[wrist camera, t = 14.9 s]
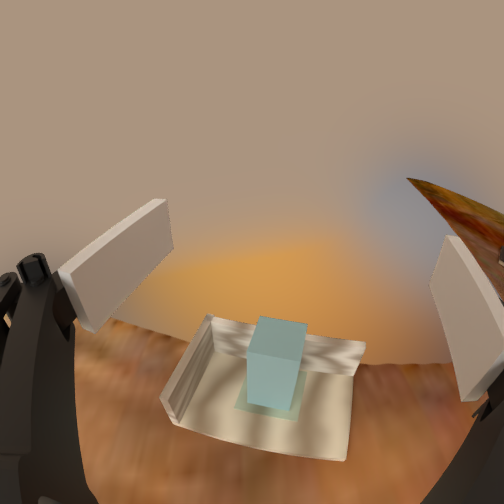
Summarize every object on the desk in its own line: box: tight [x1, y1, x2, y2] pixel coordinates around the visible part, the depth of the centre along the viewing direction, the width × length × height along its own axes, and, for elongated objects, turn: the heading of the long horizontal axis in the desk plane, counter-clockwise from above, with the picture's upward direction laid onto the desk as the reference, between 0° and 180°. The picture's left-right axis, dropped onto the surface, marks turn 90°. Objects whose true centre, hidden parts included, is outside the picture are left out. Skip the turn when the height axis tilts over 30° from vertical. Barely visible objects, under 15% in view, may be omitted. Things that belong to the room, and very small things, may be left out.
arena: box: [159, 314, 366, 461], centre depth 35 cm, size 24×16×8 cm, turn 75°
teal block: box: [247, 316, 308, 411], centre depth 35 cm, size 6×6×12 cm
